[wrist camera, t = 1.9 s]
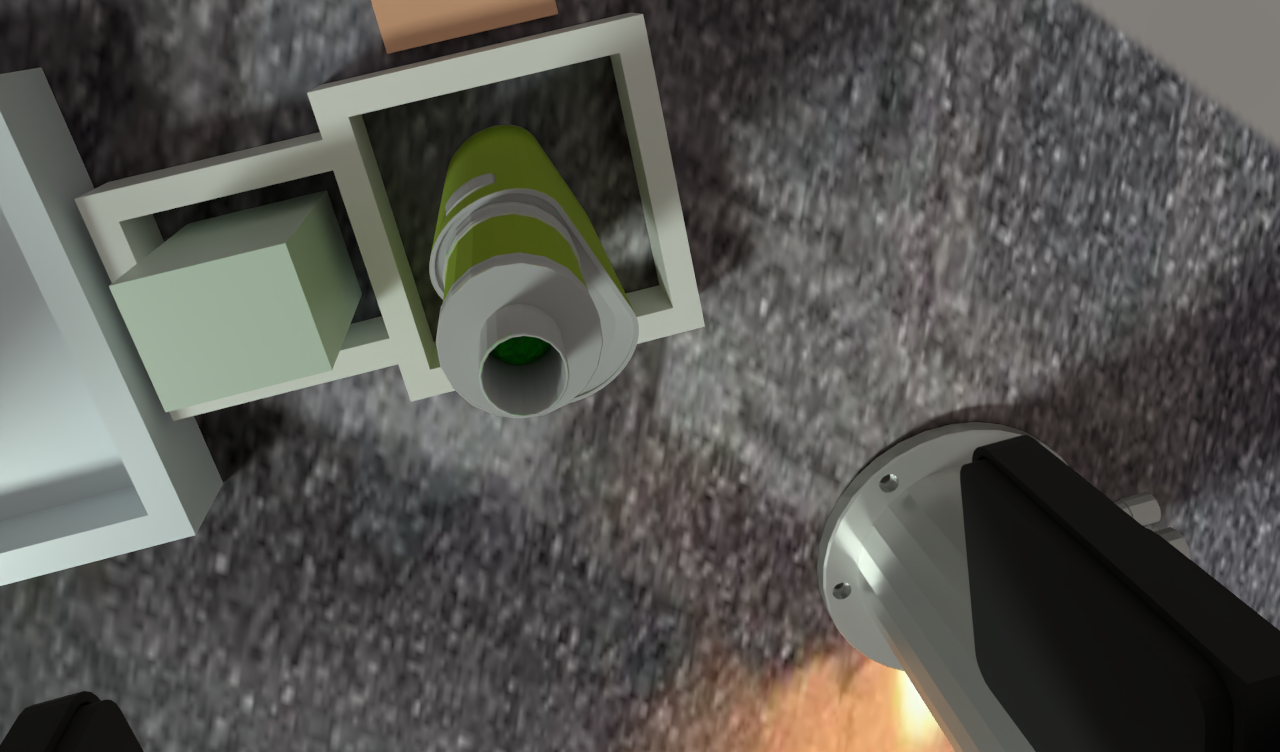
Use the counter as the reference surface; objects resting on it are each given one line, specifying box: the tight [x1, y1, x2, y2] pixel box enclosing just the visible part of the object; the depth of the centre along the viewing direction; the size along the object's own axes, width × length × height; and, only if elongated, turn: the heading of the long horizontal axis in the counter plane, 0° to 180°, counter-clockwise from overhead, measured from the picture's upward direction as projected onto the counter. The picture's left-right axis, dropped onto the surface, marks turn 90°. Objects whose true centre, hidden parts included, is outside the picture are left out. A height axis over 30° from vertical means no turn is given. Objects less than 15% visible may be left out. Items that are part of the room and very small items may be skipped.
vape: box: [429, 124, 639, 419], centre depth 27 cm, size 4×6×20 cm, turn 33°
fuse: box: [109, 190, 362, 412], centre depth 32 cm, size 5×4×8 cm
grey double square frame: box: [74, 0, 705, 421], centre depth 34 cm, size 19×14×3 cm
